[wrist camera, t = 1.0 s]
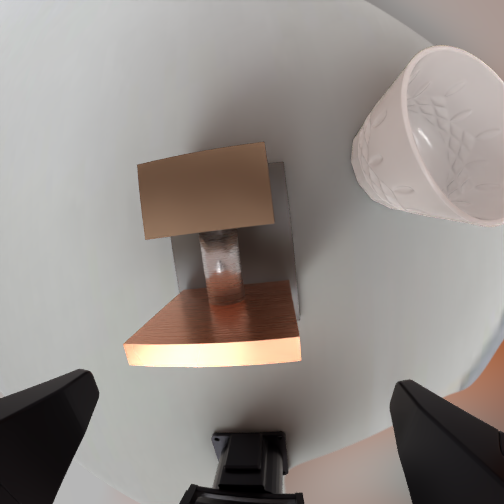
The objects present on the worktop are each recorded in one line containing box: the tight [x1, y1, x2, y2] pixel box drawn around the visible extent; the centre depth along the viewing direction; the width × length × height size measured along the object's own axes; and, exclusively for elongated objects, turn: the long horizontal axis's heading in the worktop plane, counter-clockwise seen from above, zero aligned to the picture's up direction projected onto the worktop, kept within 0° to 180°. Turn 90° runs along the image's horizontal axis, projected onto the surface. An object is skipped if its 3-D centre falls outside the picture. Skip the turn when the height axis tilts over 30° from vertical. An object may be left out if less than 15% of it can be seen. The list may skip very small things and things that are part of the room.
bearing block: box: [137, 142, 300, 320], centre depth 16 cm, size 10×8×7 cm
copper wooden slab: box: [123, 228, 301, 367], centre depth 14 cm, size 5×7×9 cm
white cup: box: [351, 45, 504, 227], centre depth 13 cm, size 8×8×10 cm
